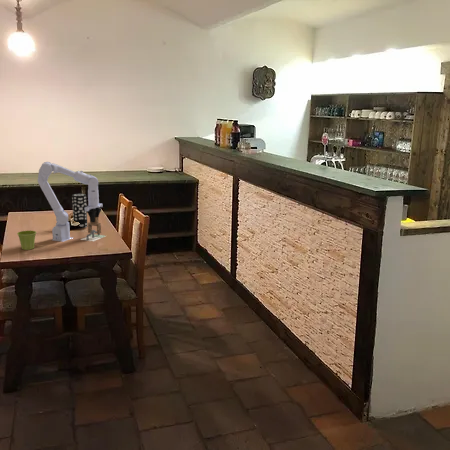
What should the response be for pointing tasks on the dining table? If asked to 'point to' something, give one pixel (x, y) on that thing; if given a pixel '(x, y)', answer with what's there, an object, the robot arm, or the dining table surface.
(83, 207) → the white-spotted black cylinder
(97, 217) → the stepped wooden block
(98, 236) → the end pad
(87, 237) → the buzz wire board
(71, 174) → the robot arm
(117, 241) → the dining table surface
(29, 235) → the plant pot
